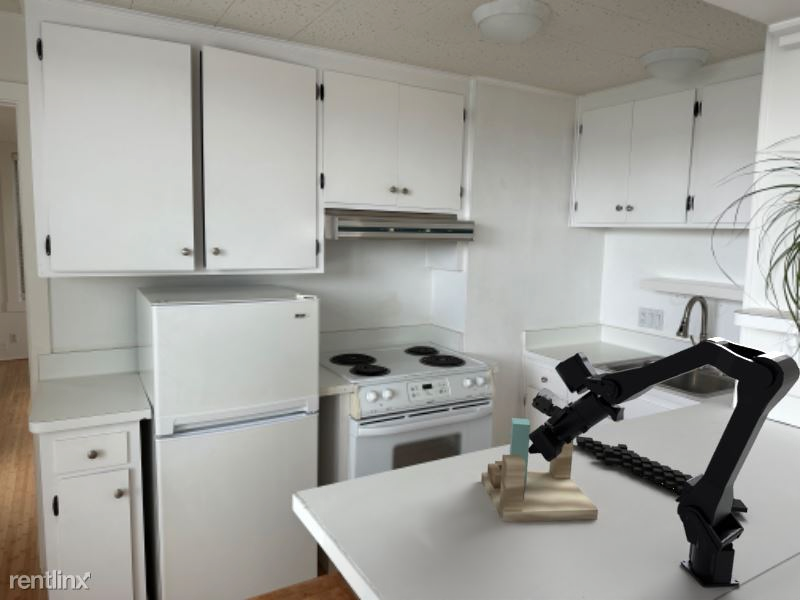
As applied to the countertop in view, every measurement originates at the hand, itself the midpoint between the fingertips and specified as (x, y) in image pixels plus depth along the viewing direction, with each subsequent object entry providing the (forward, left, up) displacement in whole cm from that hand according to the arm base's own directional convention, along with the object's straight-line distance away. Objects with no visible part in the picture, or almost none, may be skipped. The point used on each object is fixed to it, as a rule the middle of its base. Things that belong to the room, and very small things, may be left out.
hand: (529, 451), depth 117 cm
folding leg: (-1, +2, -7) cm, 7 cm away
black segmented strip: (+7, -32, -10) cm, 34 cm away
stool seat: (-2, -1, -9) cm, 10 cm away
